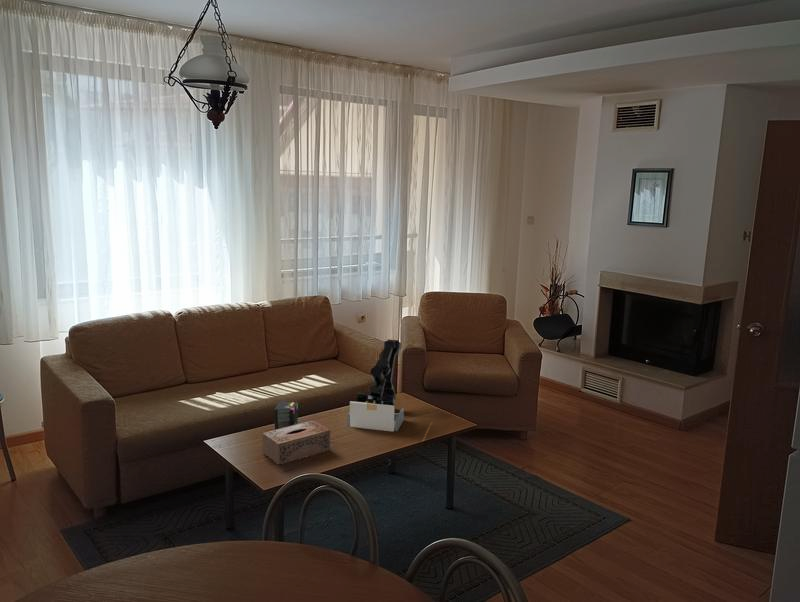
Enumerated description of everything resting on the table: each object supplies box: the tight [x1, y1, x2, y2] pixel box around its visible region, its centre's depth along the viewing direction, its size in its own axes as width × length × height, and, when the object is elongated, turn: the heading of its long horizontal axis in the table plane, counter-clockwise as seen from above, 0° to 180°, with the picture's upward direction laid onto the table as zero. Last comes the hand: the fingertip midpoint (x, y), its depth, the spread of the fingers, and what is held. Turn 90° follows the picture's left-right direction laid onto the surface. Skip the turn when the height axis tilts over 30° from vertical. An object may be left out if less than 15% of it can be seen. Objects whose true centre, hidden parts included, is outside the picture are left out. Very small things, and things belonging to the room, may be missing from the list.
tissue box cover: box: [261, 420, 331, 465], centre depth 279 cm, size 26×14×10 cm, turn 129°
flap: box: [349, 401, 395, 432], centre depth 305 cm, size 1×22×13 cm, turn 77°
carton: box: [347, 407, 405, 432], centre depth 313 cm, size 15×25×7 cm, turn 78°
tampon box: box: [273, 401, 299, 430], centre depth 298 cm, size 11×9×15 cm
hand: (372, 415), depth 305 cm, fingers closed, pressing on flap
